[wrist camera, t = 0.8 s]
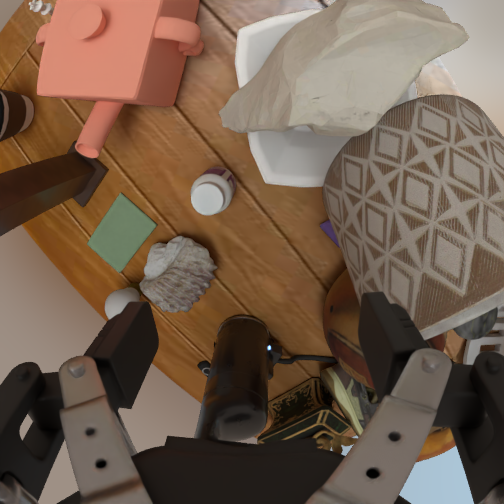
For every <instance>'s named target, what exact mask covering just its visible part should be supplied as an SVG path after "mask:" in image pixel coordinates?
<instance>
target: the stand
mask: <svg viewBox="0 0 504 504" xmlns="http://www.w3.org/2000/svg"><path fill="white" fill-rule="evenodd" d="M76 143H77V141H74V142H73V144H72V146H71V147H70V149H69V151H68V152H67V154H65V155H61V156H57V157H53V158H50V159H46V160H43V161H39V162H36V163H32V164H29V165H26V166H22V167H19V168H16V169H13V170H10V171H7V172H4V173H1V174H0V236H2V235H3V234H5V233H7V232H8V231H10V230H12V229H14V228H15V227H17V226H19V225H21V224H23V223H25V222H26V221H28V220H30V219H32V218H34V217H36V216H37V215H39V214H41V213H43V212H45V211H47V210H49V209H51V208H53V207H55V206H57V205H59V204H61V203H63V202H65V201H67V200H69V199H71V198H73V199H74V200H75V201H77V202H78V203H79V204H80V205H81V206H82V207H84V206H86V204H87V203H88V201H89V200H90V198H91V196H92V195H93V193H94V192H95V190H96V189H97V187H98V185H99V184H100V182H101V181H102V179H103V178H104V176H105V175H106V173H107V172H108V170H109V169H107V168H106V167H105V166H104V165H103V164H102V163H101V162H100V161H99V160H98V159H96V158H89V157H86V156H83V155H82V154H80V153H79V152H78V151H77V150H76V149H75V145H76Z"/></svg>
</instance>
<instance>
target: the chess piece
mask: <svg viewBox="0 0 504 504" xmlns="http://www.w3.org/2000/svg"><path fill="white" fill-rule="evenodd" d="M36 1H37V0H33V2H30V3H29V5H30V6H31V7H30V10H33V11H34V12H39V11H41V14H42V15H46V14H47V13H49V14H51V15H52V14H53V11H54V8H51V4H50V3H47V4H44V3H43V2H42V1H37V2H36Z"/></svg>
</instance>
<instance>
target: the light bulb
mask: <svg viewBox="0 0 504 504" xmlns="http://www.w3.org/2000/svg"><path fill="white" fill-rule="evenodd" d="M141 294H142V291H141V289H140V285H139V284H138V283H131V284H130V285H129V286H128V288H126V289H120V290H116V291H114V292H112V293H111V294H110V295H109V296H108V298H107V300H106V302H105V312H106V315H107V317H108V318H109V320H110V319H111V318H112V317H114V316H115V315H117V314H120V313H121V312H122V310H123V309H124V308H125V306H126V305H127V303H128V302H130V301H139V300H140V296H141Z"/></svg>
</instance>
